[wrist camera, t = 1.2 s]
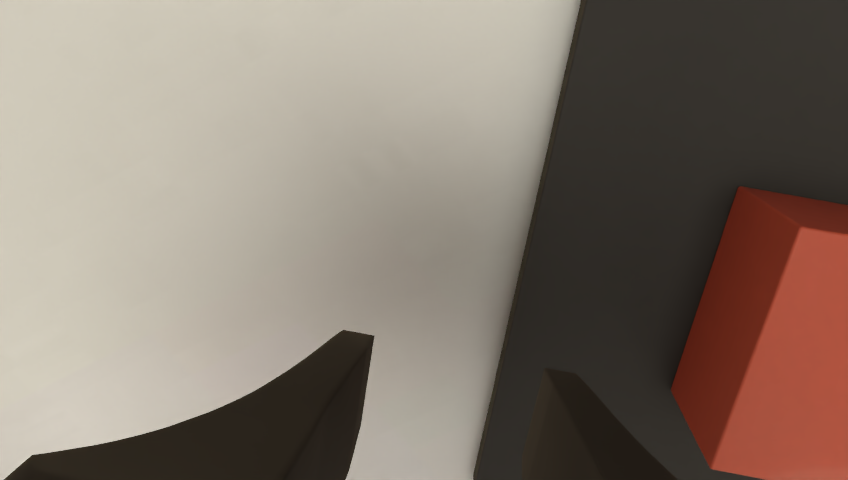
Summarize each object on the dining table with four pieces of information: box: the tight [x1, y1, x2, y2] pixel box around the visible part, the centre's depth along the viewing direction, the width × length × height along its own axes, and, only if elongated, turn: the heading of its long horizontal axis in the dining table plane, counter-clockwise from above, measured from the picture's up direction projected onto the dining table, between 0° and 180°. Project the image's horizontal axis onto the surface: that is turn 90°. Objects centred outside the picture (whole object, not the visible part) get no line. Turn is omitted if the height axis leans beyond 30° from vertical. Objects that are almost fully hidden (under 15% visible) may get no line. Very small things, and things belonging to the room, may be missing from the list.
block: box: [671, 186, 848, 480], centre depth 18 cm, size 7×5×4 cm
